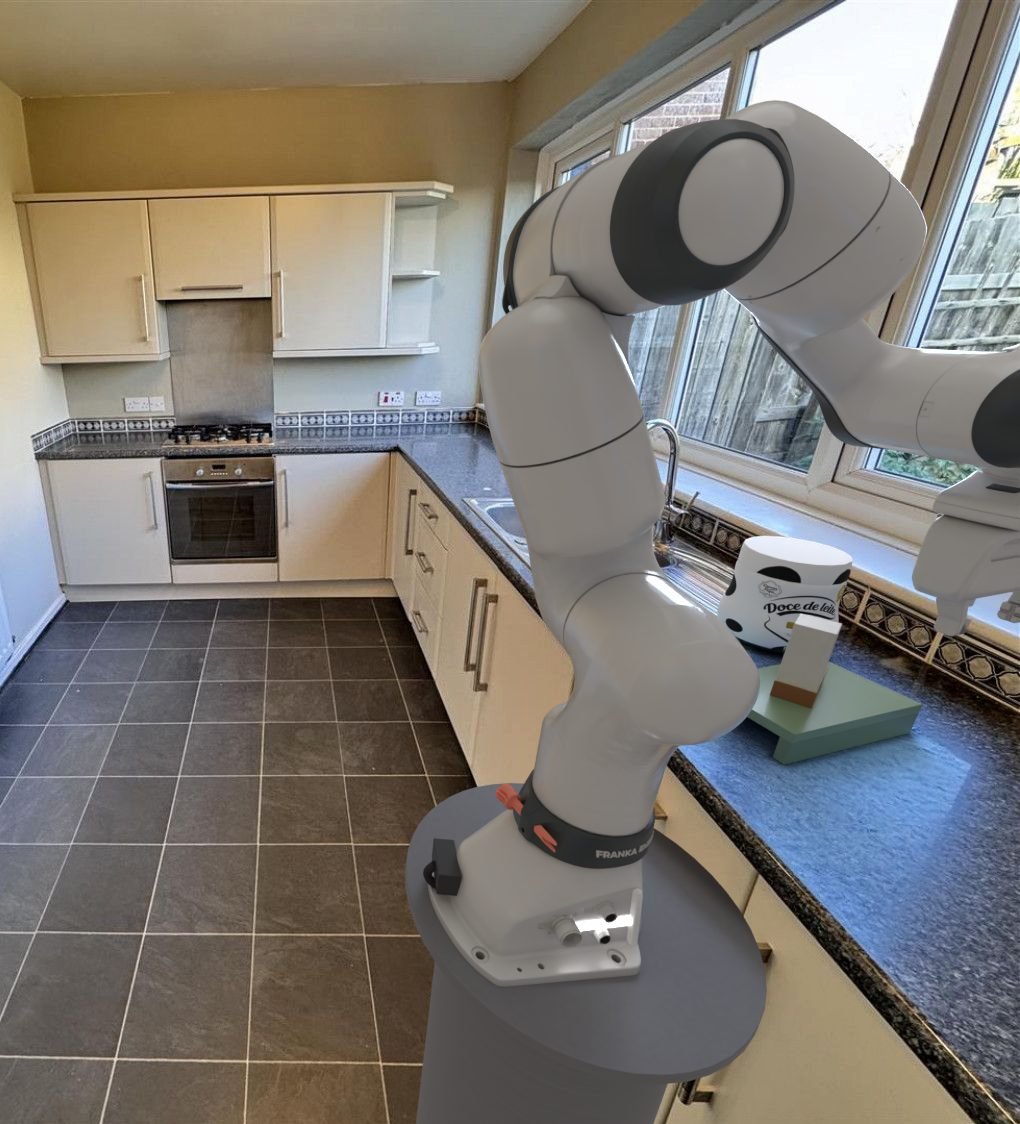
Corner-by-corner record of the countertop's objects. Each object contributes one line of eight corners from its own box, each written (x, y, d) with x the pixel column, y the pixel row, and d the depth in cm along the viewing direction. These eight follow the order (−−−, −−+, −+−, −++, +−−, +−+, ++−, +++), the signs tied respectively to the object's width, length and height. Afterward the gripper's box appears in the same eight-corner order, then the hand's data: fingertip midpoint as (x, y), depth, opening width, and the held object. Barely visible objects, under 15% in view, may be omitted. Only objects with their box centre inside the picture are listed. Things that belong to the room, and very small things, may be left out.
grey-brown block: (811, 708, 87) (838, 635, 82) (769, 695, 90) (793, 623, 86) (823, 681, 93) (848, 612, 89) (783, 669, 96) (806, 602, 92)
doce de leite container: (792, 672, 105) (826, 575, 98) (691, 629, 120) (714, 542, 113) (849, 650, 111) (884, 557, 105) (747, 612, 126) (772, 528, 119)
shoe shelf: (784, 764, 83) (795, 734, 82) (693, 707, 96) (700, 679, 94) (910, 733, 89) (922, 704, 87) (808, 682, 102) (818, 656, 100)
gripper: (1064, 478, 63) (1007, 600, 68) (923, 495, 58) (873, 626, 63) (1161, 494, 57) (1090, 626, 62) (1014, 514, 52) (950, 656, 57)
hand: (980, 626), depth 63 cm, fingers open, 8 cm apart
